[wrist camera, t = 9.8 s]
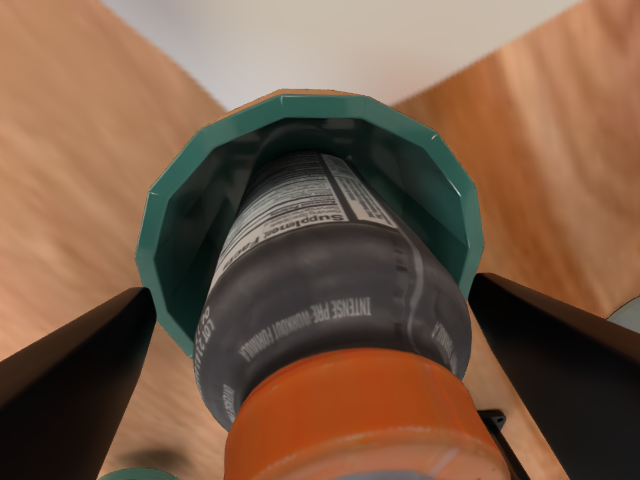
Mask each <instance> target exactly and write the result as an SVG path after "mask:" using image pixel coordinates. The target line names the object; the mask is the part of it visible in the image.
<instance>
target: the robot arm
mask: <svg viewBox="0 0 640 480" xmlns="http://www.w3.org/2000/svg"><path fill="white" fill-rule="evenodd" d="M468 302H469V305H470V307H471V309H472V311H473V314H474V316H475V318H476V320H477V322H478V324H479V326H480V328H481V330H482V332H483V334H484V336H485V338H486V341H487V343H488V344H489V346H490V348H491V350H492V352H493V354H494V355H495V357H496V359H497V361H498V362H499V364H500V365H501V367H502V369H503V370H504V372H505V374H506V375H507V377H508V379H509V380H510V382H511V383H512V385H513V387H514V388H515V390H516V392H517V393H518V395H519V397H520V398H521V400H522V401H523V403H524V405H525V406H526V408H527V410H528V411H529V413H530V415H531V416H532V418H533V419H534V421H535V423H536V424H537V426H538V428H539V429H540V431H541V433H542V434H543V436H544V437H545V439H546V441H547V442H548V444H549V446H550V447H551V449H552V451H553V452H554V454H555V455H556V457H557V459H558V460H559V462H560V464H561V465H562V467H563V469H564V470H565V472H566V474H567V475H568V477H569V478H570V480H640V334H639V333H637V332H635V331H632V330H630V329H627V328H625V327H622V326H620V325H618V324H615V323H613V322H610V321H608V320H605V319H603V318H601V317H598V316H596V315H593V314H591V313H588V312H586V311H584V310H581V309H579V308H576V307H574V306H571V305H569V304H566V303H564V302H562V301H559V300H557V299H554V298H552V297H549V296H547V295H545V294H542V293H540V292H537V291H535V290H532V289H530V288H528V287H525V286H523V285H520V284H518V283H515V282H513V281H510V280H508V279H506V278H503V277H501V276H498V275H496V274H493V273H477V274H476V275H475V276H474V278H473V282H472V285H471V288H470V292H469V295H468ZM156 319H157V312H156V308H155V305H154V301H153V297H152V294H151V291H150V289H149V288H147V287H134V288H129V289H128V290H126V291H124V292H122V293H121V294H119V295H117V296H115V297H113V298H112V299H110V300H108V301H106V302H105V303H103V304H101V305H99V306H98V307H96V308H94V309H92V310H91V311H89V312H87V313H85V314H84V315H82V316H80V317H78V318H77V319H75V320H73V321H71V322H70V323H68V324H66V325H64V326H62V327H61V328H59V329H57V330H55V331H54V332H52V333H50V334H48V335H47V336H45V337H43V338H41V339H40V340H38V341H36V342H34V343H33V344H31V345H29V346H27V347H26V348H24V349H22V350H20V351H19V352H17V353H15V354H13V355H12V356H10V357H8V358H6V359H4V360H3V361H1V362H0V480H96V479H97V477H98V474H99V472H100V470H101V467H102V465H103V462H104V460H105V458H106V455H107V453H108V451H109V448H110V446H111V443H112V441H113V439H114V436H115V434H116V432H117V429H118V427H119V424H120V422H121V420H122V417H123V415H124V413H125V410H126V408H127V405H128V403H129V401H130V398H131V396H132V394H133V391H134V389H135V386H136V384H137V382H138V379H139V376H140V374H141V371H142V368H143V364H144V361H145V358H146V354H147V351H148V347H149V344H150V340H151V337H152V334H153V330H154V327H155V323H156ZM478 414H479V416H480V418H481V420H482V421H483V423H484V425H485V427H486V428H487V430H488V432H489V434H490V435H491V437H492V439H493V440H494V442H495V444H496V445H497V447H498V449H499V450H500V452H501V454H502V456H503V458H504V460H505V461H506V464H507V466H508V469H509V472H510V476H511V480H531V479H530V478H529V476H528V474H527V473H526V471H525V470H524V468H523V466H522V465H521V463H520V462H519V460H518V458H517V457H516V455H515V454H514V452H513V450H512V449H511V447H510V446H509V444H508V442H507V441H506V439H505V438H504V436H503V434H502V433H501V429H502V427H503V425H504V423H505V421H506V417H505V415H504V414H503V412H502V411H493V412H483V413H478Z"/></svg>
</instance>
